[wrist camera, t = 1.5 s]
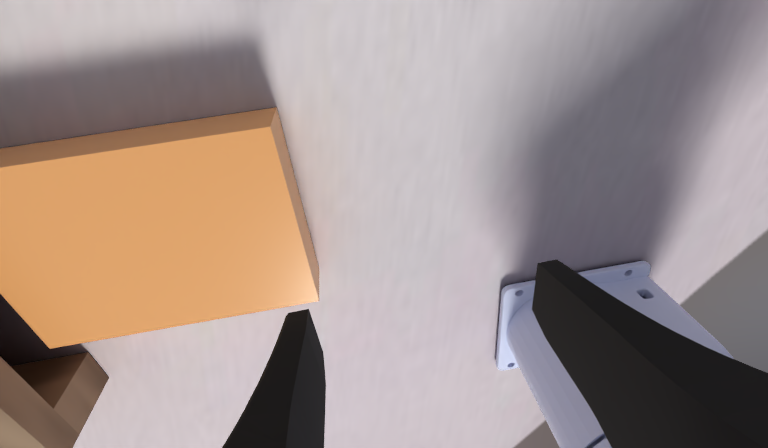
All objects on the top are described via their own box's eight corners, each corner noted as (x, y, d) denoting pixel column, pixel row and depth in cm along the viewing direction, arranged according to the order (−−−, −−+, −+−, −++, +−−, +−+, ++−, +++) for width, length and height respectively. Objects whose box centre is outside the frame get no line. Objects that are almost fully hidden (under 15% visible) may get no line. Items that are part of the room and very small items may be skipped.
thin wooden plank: (276, 107, 17) (270, 126, 14) (319, 269, 21) (319, 300, 19) (-44, 155, 16) (-99, 182, 14) (76, 311, 21) (49, 348, 19)
